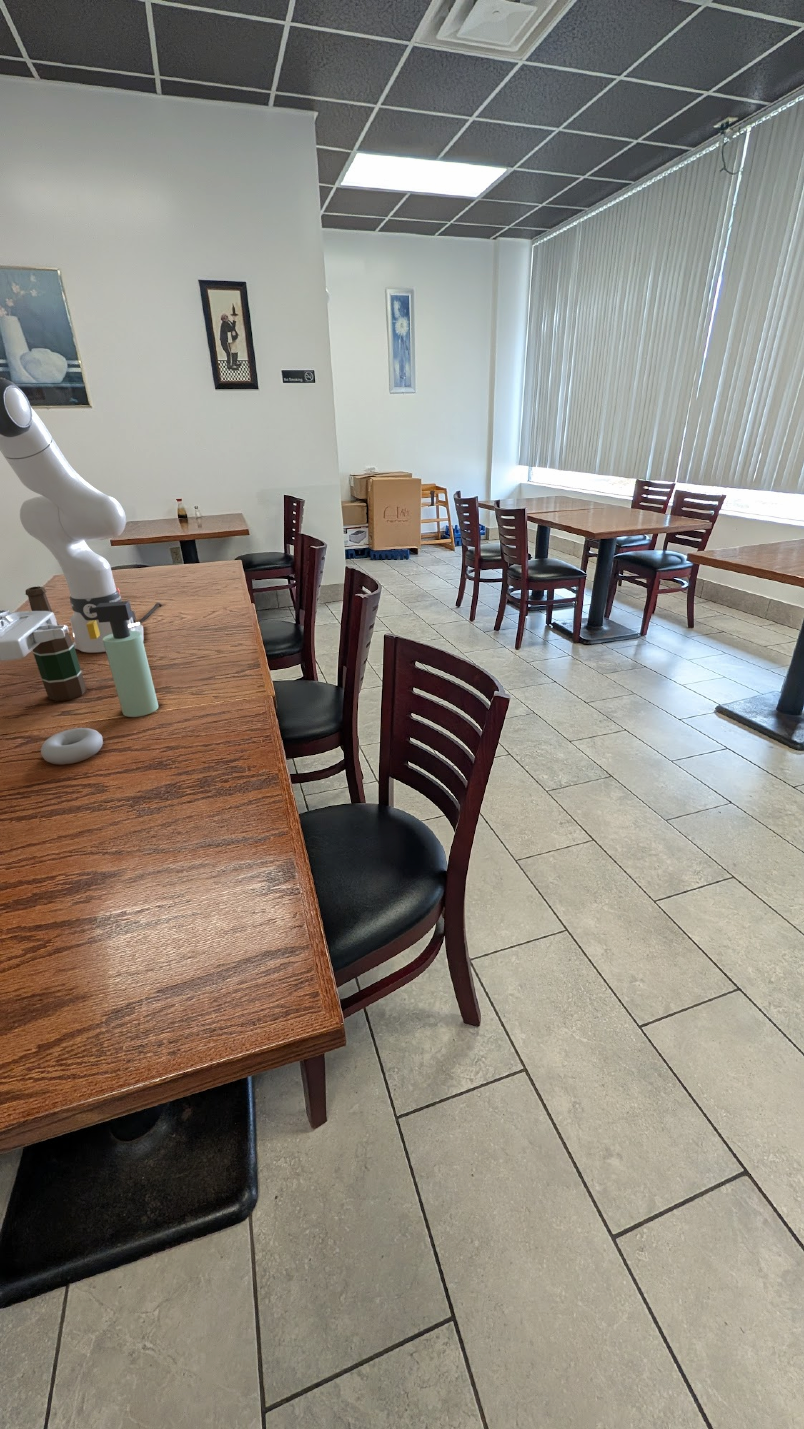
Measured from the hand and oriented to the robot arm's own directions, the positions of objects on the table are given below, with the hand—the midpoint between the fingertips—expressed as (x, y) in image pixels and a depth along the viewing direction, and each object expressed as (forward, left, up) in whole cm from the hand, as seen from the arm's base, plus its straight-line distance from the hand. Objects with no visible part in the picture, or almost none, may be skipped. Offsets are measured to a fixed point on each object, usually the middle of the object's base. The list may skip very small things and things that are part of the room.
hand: (66, 631), depth 113 cm
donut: (+17, +2, -18) cm, 25 cm away
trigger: (0, +5, -2) cm, 5 cm away
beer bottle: (-13, -8, -18) cm, 24 cm away
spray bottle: (0, +10, -18) cm, 20 cm away
